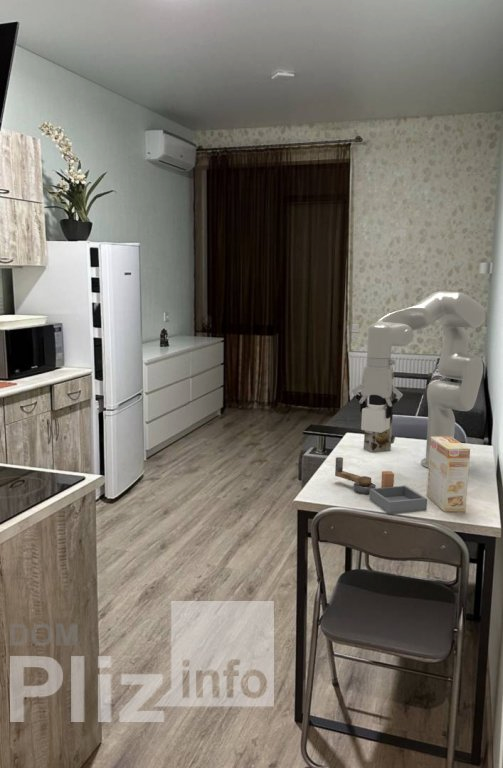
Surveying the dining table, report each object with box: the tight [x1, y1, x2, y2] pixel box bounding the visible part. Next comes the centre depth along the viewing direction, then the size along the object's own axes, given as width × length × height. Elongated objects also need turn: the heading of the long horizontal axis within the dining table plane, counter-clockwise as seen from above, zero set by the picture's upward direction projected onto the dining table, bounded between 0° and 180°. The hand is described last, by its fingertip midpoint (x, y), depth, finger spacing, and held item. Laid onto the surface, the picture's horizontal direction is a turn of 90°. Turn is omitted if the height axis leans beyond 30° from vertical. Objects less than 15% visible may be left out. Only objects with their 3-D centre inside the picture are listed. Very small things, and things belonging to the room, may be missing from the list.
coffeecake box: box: [426, 437, 471, 513], centre depth 198 cm, size 15×7×20 cm, turn 5°
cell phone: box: [391, 434, 396, 445], centre depth 277 cm, size 7×14×1 cm, turn 164°
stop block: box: [380, 470, 395, 488], centre depth 207 cm, size 3×3×7 cm
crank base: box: [353, 482, 377, 496], centre depth 209 cm, size 7×7×2 cm
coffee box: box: [363, 411, 394, 453], centre depth 258 cm, size 9×6×16 cm
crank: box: [334, 456, 372, 486], centre depth 212 cm, size 14×4×6 cm, turn 42°
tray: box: [368, 485, 428, 515], centre depth 197 cm, size 13×13×4 cm
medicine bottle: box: [360, 395, 390, 433], centre depth 210 cm, size 7×7×12 cm
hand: (375, 416), depth 211 cm, fingers closed on medicine bottle, 7 cm apart
